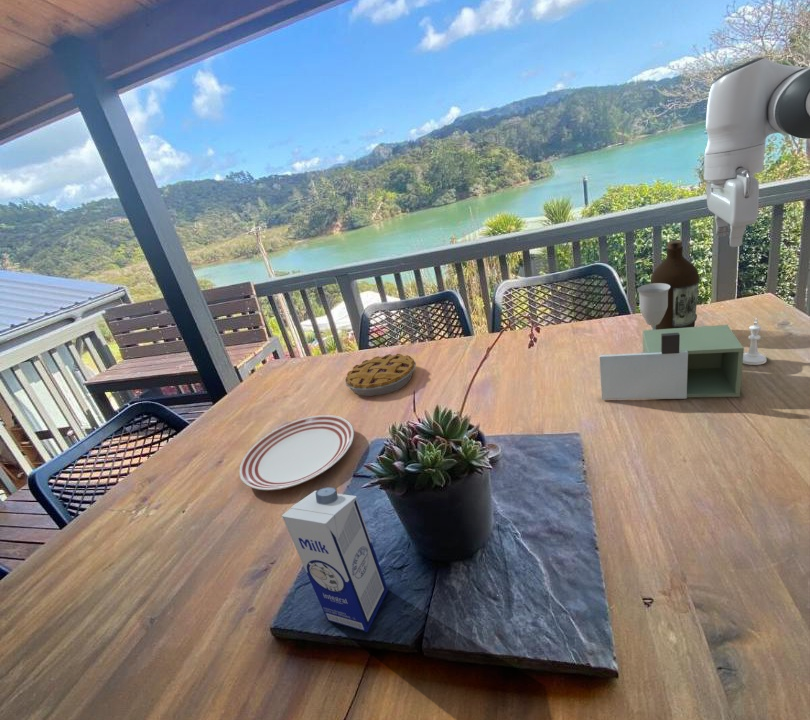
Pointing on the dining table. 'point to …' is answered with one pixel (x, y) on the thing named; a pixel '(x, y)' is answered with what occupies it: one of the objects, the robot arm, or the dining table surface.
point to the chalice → (653, 302)
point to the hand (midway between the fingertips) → (728, 240)
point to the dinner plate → (296, 452)
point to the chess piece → (754, 347)
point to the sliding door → (646, 373)
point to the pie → (380, 375)
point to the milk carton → (338, 556)
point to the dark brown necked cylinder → (678, 288)
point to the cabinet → (706, 358)
